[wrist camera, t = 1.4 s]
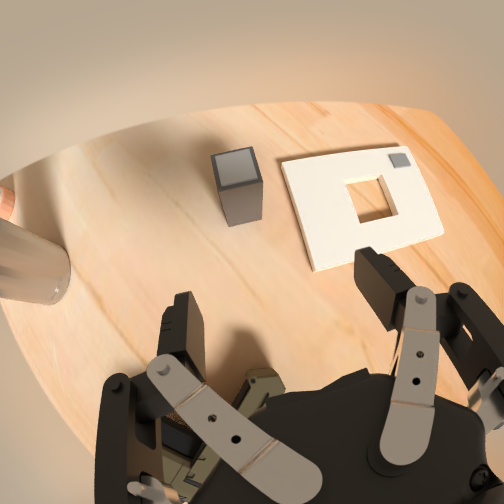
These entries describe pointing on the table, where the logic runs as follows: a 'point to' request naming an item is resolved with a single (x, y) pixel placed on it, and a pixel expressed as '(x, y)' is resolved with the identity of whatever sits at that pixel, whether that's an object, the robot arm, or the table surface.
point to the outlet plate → (342, 209)
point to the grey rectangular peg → (239, 185)
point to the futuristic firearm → (195, 449)
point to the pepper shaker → (6, 202)
